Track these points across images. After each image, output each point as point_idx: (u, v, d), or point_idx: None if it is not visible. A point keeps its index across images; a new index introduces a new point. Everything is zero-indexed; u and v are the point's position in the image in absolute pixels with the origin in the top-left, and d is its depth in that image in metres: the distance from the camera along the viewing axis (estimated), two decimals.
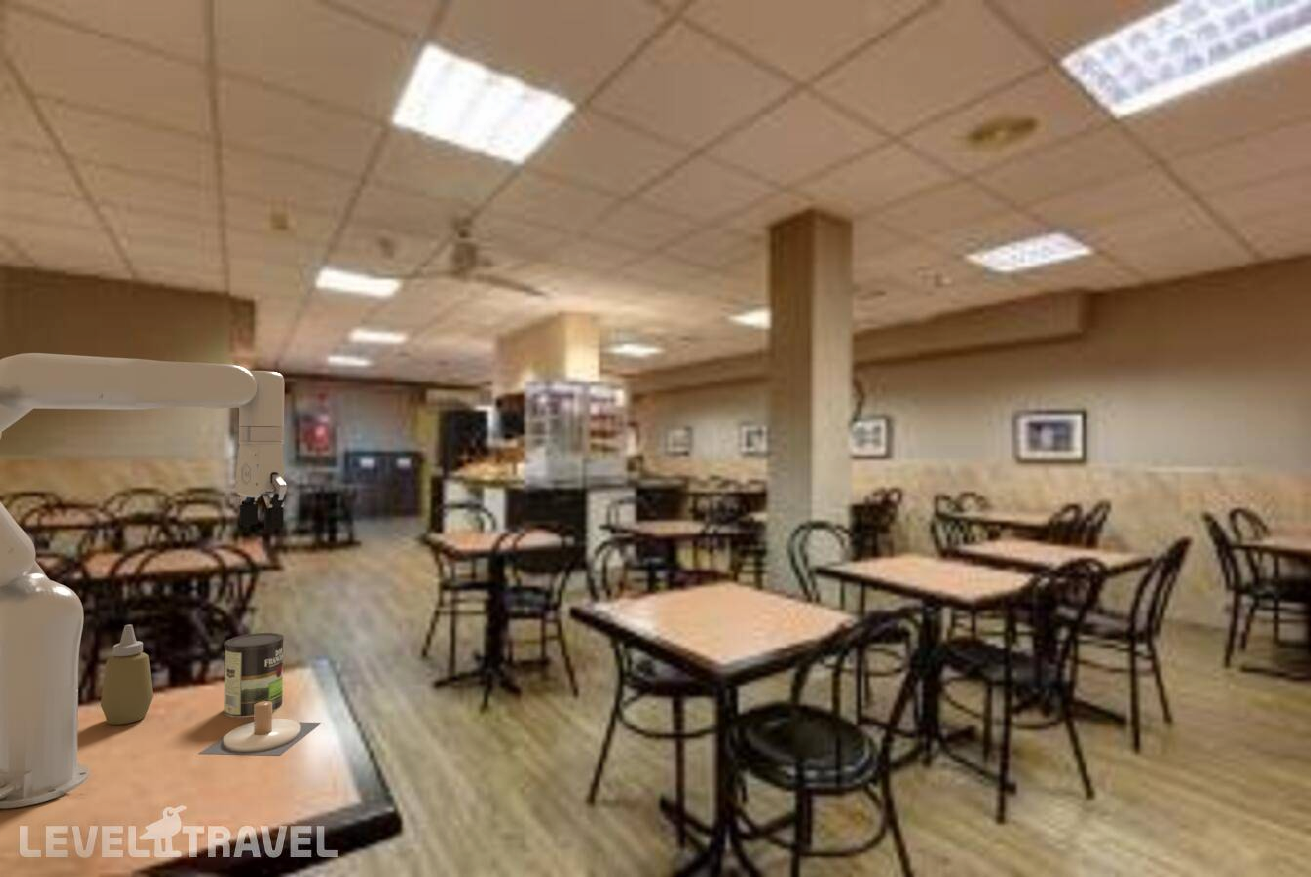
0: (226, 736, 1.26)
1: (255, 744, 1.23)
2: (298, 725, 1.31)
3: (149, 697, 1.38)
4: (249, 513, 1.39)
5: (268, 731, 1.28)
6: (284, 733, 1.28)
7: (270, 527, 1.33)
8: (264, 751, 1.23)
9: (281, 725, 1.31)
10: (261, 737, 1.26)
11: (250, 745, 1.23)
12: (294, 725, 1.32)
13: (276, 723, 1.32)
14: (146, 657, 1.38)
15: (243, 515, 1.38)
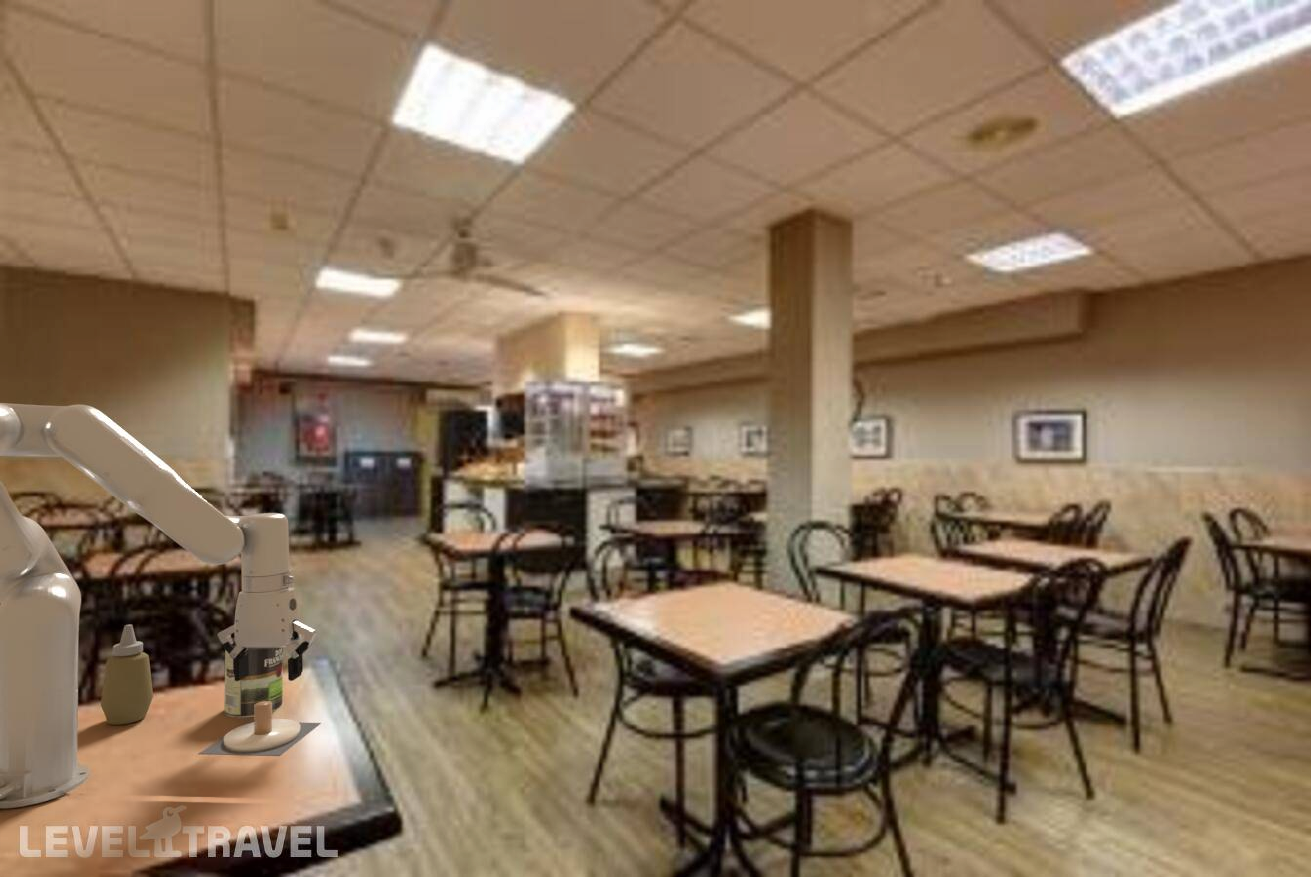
0: (226, 736, 1.26)
1: (255, 744, 1.23)
2: (298, 725, 1.31)
3: (149, 697, 1.38)
4: None
5: (268, 731, 1.28)
6: (285, 733, 1.28)
7: None
8: (264, 751, 1.23)
9: (281, 725, 1.31)
10: (262, 737, 1.26)
11: (250, 745, 1.23)
12: (294, 724, 1.32)
13: (276, 723, 1.32)
14: (146, 657, 1.38)
15: None
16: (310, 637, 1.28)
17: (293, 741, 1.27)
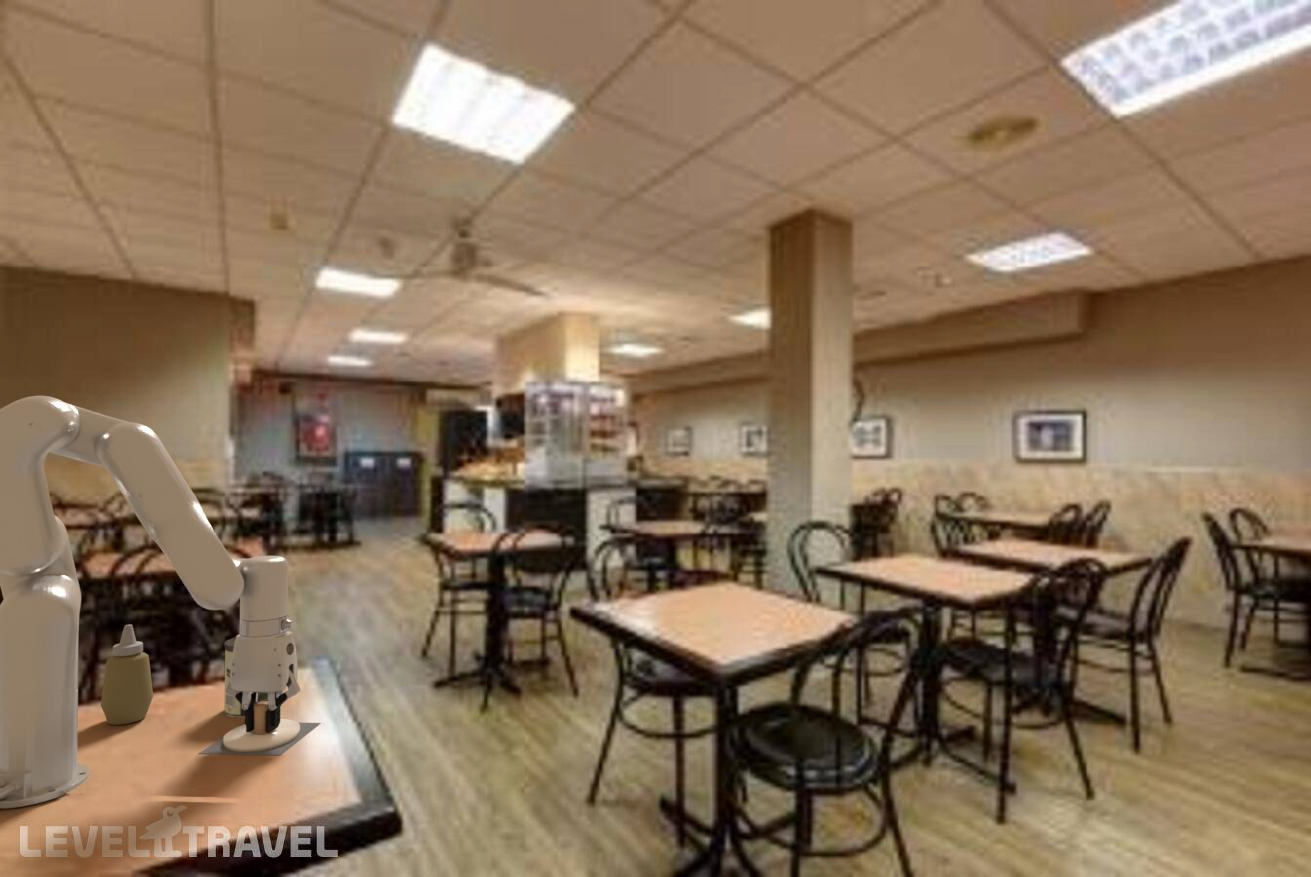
0: (226, 736, 1.26)
1: (255, 744, 1.23)
2: (298, 725, 1.31)
3: (149, 697, 1.38)
4: None
5: None
6: (284, 733, 1.28)
7: None
8: (264, 751, 1.23)
9: (281, 725, 1.31)
10: (261, 737, 1.26)
11: (250, 745, 1.23)
12: (294, 724, 1.32)
13: None
14: (146, 657, 1.38)
15: None
16: (292, 694, 1.27)
17: (293, 741, 1.27)
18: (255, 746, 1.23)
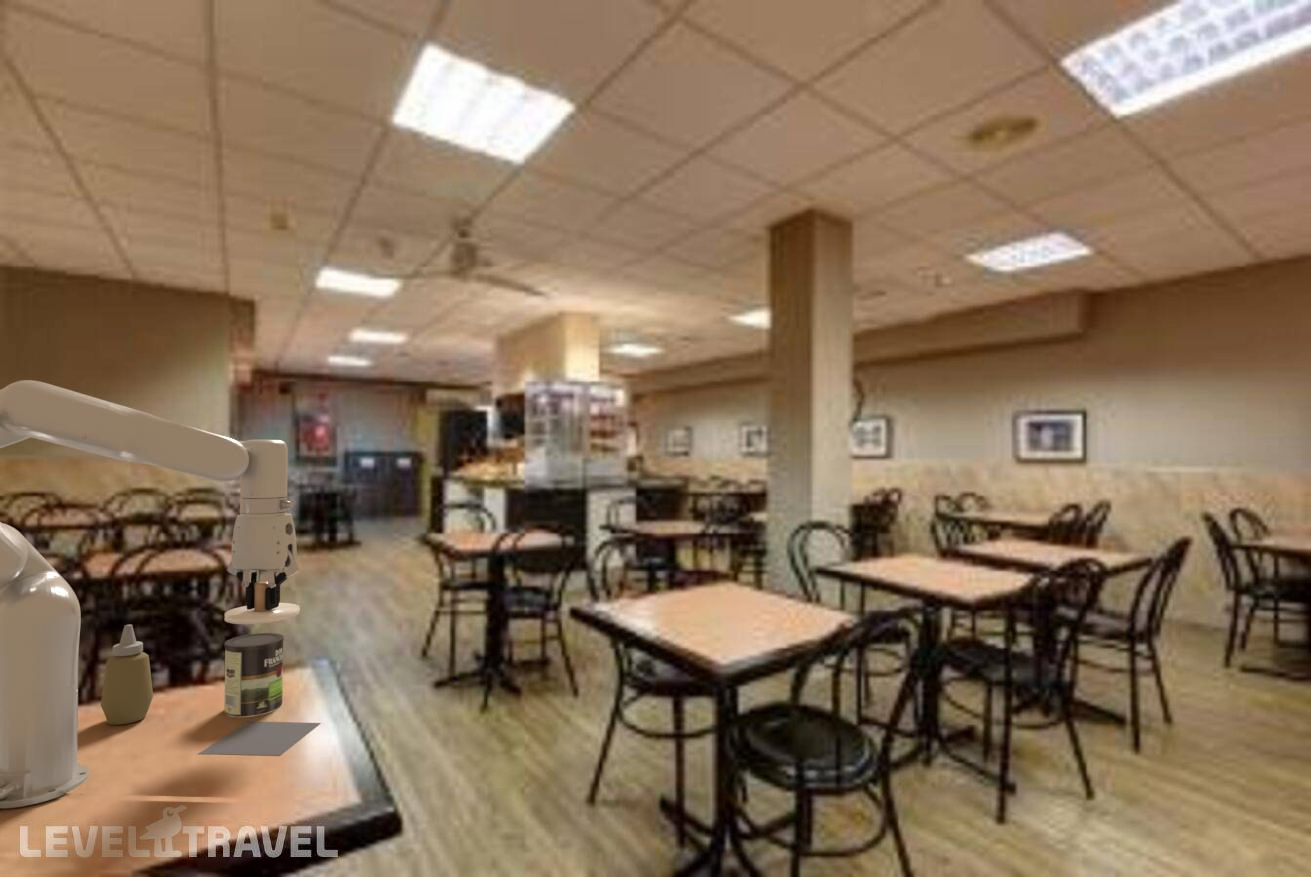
0: (227, 612, 1.29)
1: (254, 617, 1.26)
2: (297, 606, 1.34)
3: (149, 697, 1.38)
4: None
5: None
6: (284, 611, 1.30)
7: None
8: (264, 751, 1.23)
9: (281, 607, 1.34)
10: (261, 613, 1.29)
11: (250, 618, 1.25)
12: (294, 606, 1.34)
13: None
14: (146, 657, 1.38)
15: None
16: (291, 573, 1.30)
17: (293, 741, 1.27)
18: (254, 619, 1.25)
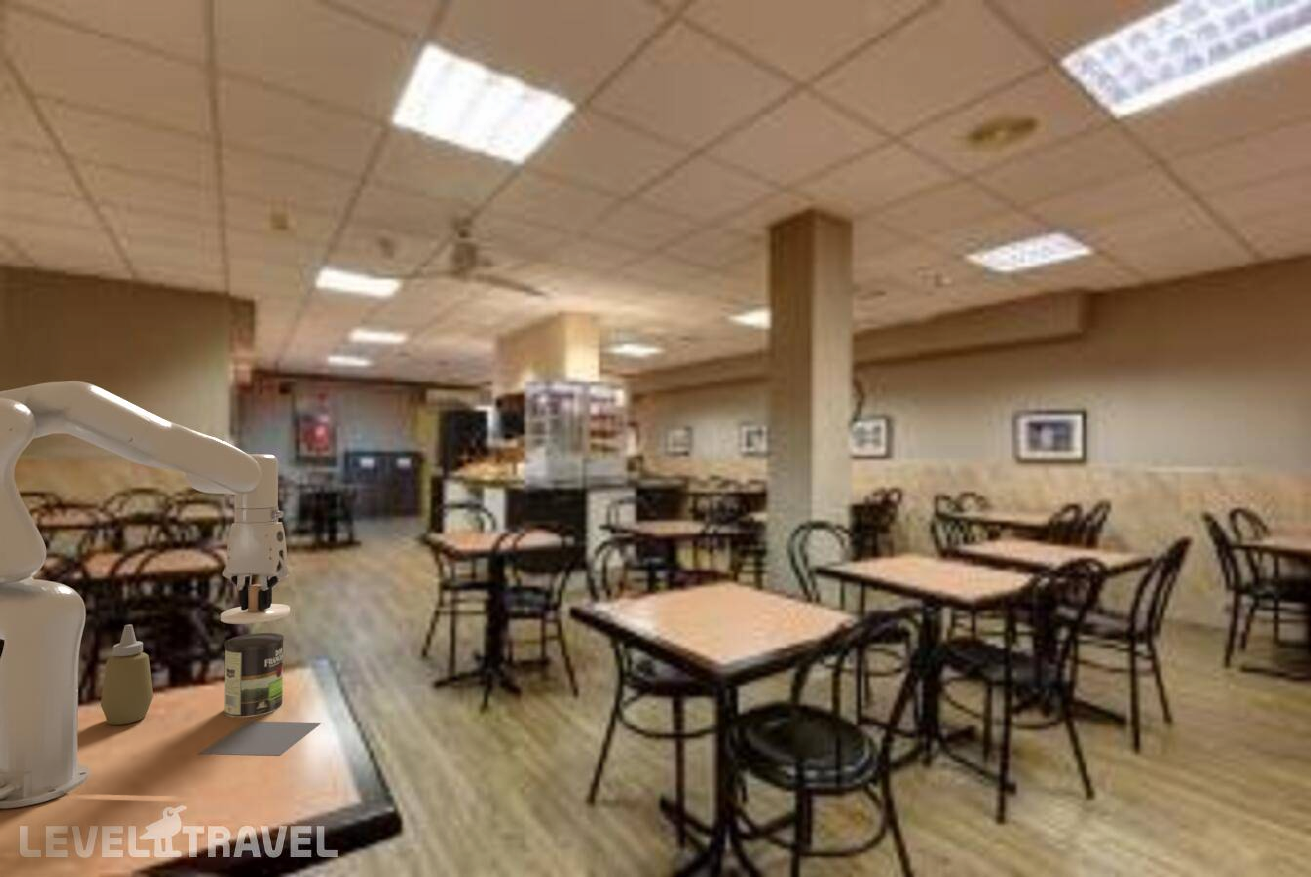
0: (223, 613, 1.41)
1: (249, 617, 1.38)
2: (288, 607, 1.46)
3: (149, 697, 1.38)
4: None
5: None
6: (275, 611, 1.42)
7: None
8: (264, 751, 1.23)
9: (273, 607, 1.46)
10: (255, 613, 1.41)
11: (245, 618, 1.37)
12: (284, 607, 1.46)
13: None
14: (146, 657, 1.38)
15: None
16: (282, 576, 1.42)
17: (293, 741, 1.27)
18: (249, 619, 1.37)
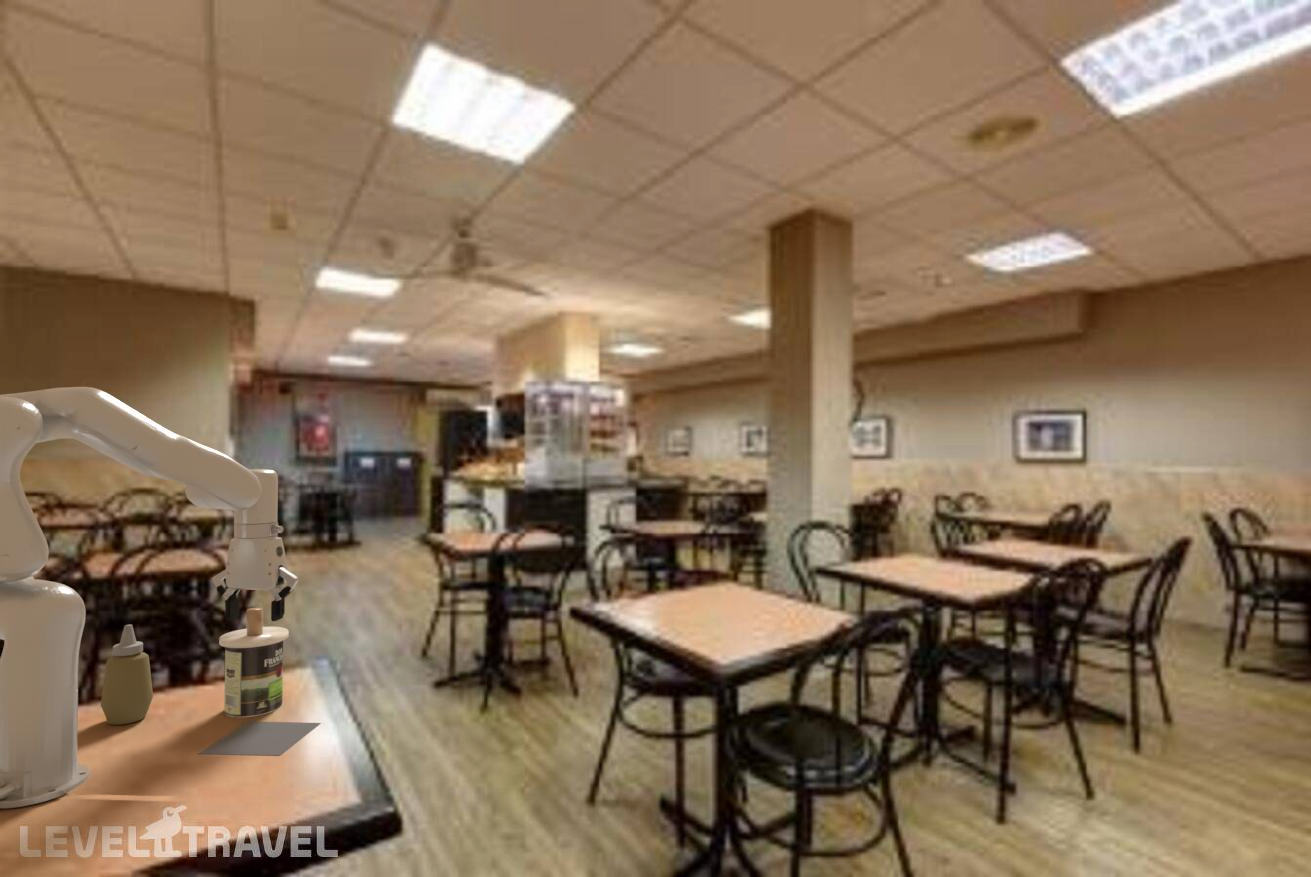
0: (221, 637, 1.40)
1: (248, 641, 1.37)
2: (286, 630, 1.46)
3: (149, 697, 1.38)
4: None
5: (259, 633, 1.42)
6: (274, 635, 1.42)
7: None
8: (264, 751, 1.23)
9: (271, 630, 1.45)
10: (253, 637, 1.40)
11: (243, 642, 1.37)
12: (283, 630, 1.46)
13: (266, 629, 1.47)
14: (146, 657, 1.38)
15: None
16: (292, 583, 1.42)
17: (293, 741, 1.27)
18: (248, 643, 1.37)
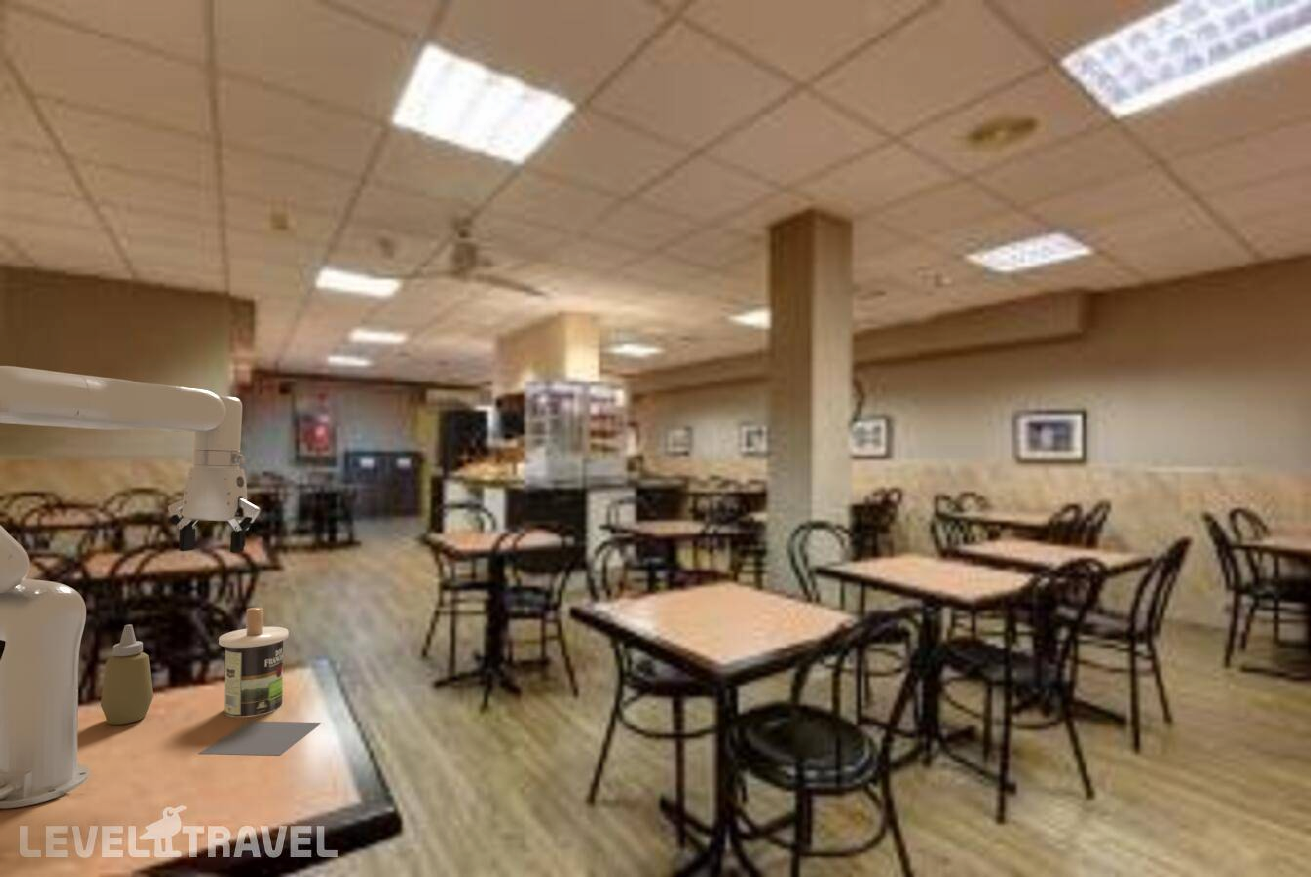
0: (221, 637, 1.40)
1: (248, 641, 1.37)
2: (286, 630, 1.46)
3: (149, 697, 1.38)
4: None
5: (259, 633, 1.42)
6: (274, 635, 1.42)
7: None
8: (264, 751, 1.23)
9: (271, 630, 1.45)
10: (253, 637, 1.40)
11: (243, 642, 1.37)
12: (283, 630, 1.46)
13: (266, 629, 1.47)
14: (146, 657, 1.38)
15: None
16: (253, 513, 1.35)
17: (293, 741, 1.27)
18: (248, 643, 1.37)
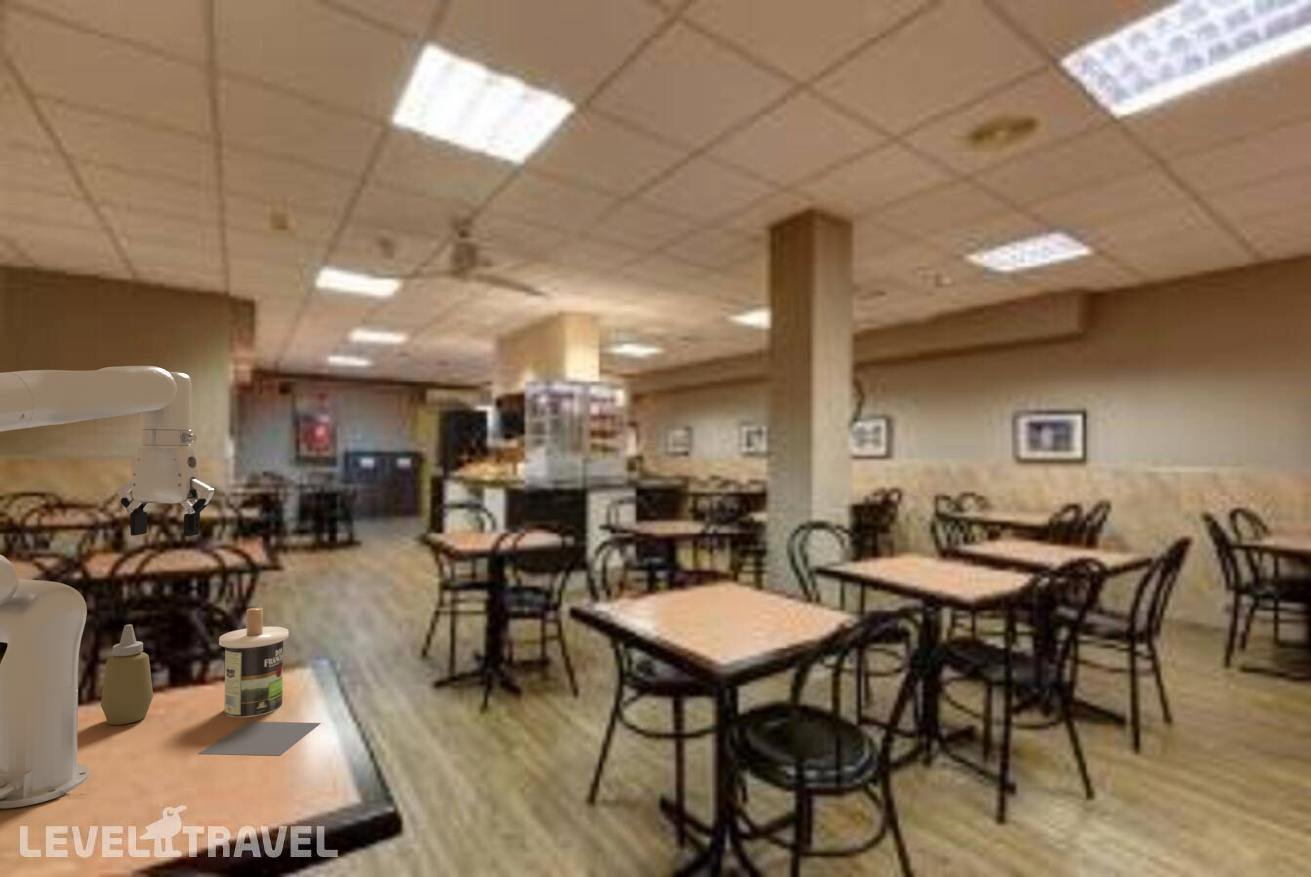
0: (221, 637, 1.40)
1: (248, 641, 1.37)
2: (286, 630, 1.46)
3: (149, 697, 1.38)
4: None
5: (259, 633, 1.42)
6: (274, 635, 1.42)
7: None
8: (264, 751, 1.23)
9: (271, 630, 1.45)
10: (253, 637, 1.40)
11: (244, 642, 1.37)
12: (283, 630, 1.46)
13: (266, 629, 1.47)
14: (146, 657, 1.38)
15: None
16: (207, 494, 1.29)
17: (293, 741, 1.27)
18: (248, 643, 1.37)
